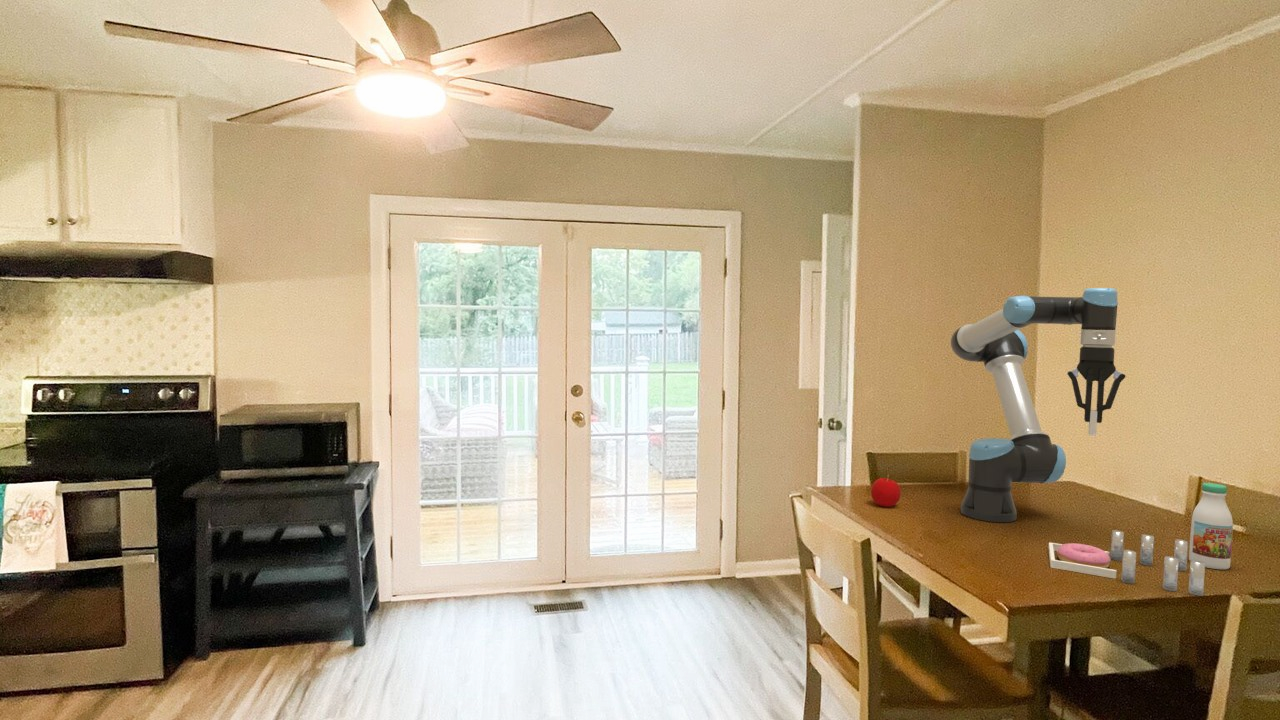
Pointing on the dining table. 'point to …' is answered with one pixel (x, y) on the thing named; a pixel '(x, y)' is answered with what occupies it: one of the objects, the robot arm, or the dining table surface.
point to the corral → (1078, 565)
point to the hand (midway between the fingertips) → (1092, 434)
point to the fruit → (885, 492)
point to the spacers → (1169, 563)
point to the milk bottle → (1212, 529)
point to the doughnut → (1083, 555)
